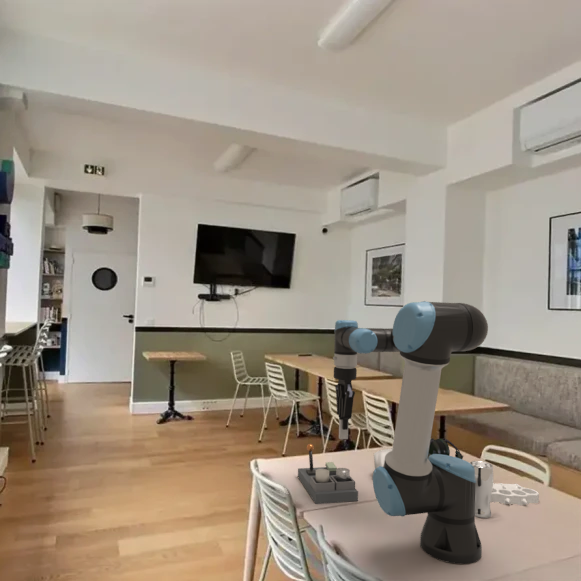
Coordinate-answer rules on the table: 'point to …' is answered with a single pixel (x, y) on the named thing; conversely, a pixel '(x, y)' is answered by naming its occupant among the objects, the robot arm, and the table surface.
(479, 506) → the beer glass
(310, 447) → the toggle lever
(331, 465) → the rocker switch
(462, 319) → the robot arm
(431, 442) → the headphones
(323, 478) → the white button
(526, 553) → the table surface
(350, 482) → the switch panel
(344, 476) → the metal button
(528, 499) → the knuckle duster
